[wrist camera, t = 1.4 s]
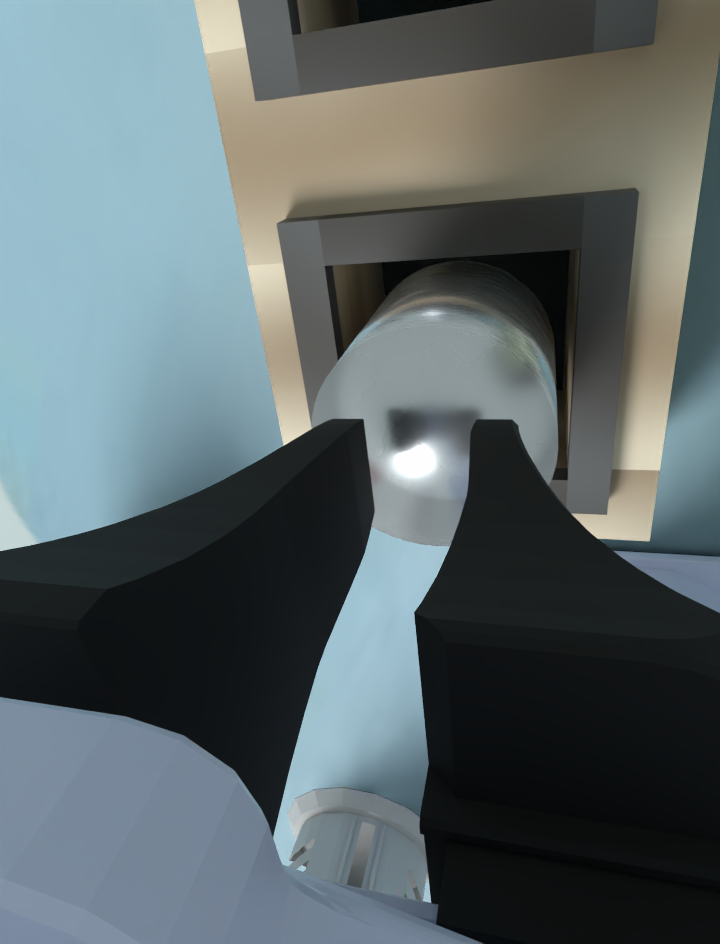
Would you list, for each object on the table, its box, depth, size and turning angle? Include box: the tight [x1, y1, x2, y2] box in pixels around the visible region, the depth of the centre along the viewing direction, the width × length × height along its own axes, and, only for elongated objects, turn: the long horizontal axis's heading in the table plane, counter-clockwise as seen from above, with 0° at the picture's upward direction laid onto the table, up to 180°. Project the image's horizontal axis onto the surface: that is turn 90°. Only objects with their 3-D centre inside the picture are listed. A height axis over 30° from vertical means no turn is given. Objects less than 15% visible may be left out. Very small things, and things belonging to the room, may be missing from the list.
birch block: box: [194, 0, 720, 541], centre depth 15 cm, size 20×10×6 cm, turn 7°
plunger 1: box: [312, 261, 558, 546], centre depth 14 cm, size 5×5×5 cm
